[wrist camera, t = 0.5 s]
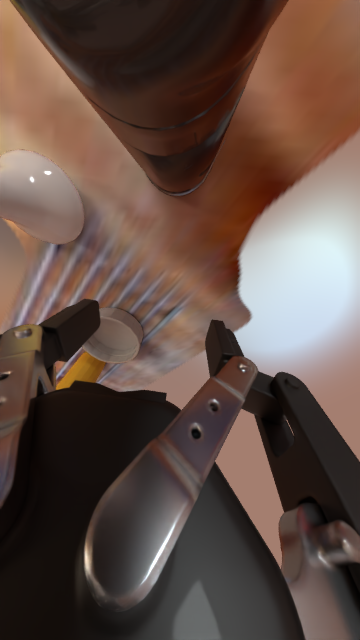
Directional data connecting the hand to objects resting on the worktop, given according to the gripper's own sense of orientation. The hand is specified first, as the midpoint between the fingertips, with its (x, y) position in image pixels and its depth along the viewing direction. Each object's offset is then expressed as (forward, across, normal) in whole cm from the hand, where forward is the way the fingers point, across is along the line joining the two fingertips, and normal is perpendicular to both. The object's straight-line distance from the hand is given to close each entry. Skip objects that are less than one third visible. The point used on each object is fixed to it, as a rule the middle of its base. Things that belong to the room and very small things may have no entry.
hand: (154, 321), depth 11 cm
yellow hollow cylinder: (+18, +17, +26) cm, 36 cm away
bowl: (+18, +11, +15) cm, 26 cm away
